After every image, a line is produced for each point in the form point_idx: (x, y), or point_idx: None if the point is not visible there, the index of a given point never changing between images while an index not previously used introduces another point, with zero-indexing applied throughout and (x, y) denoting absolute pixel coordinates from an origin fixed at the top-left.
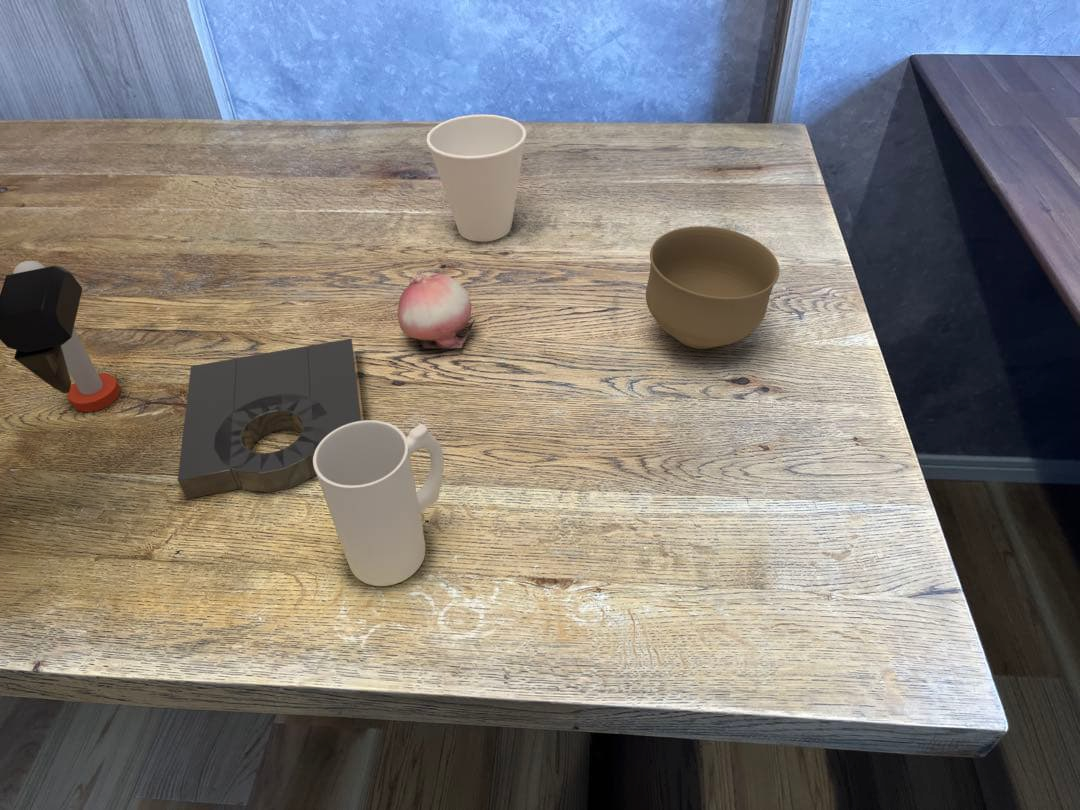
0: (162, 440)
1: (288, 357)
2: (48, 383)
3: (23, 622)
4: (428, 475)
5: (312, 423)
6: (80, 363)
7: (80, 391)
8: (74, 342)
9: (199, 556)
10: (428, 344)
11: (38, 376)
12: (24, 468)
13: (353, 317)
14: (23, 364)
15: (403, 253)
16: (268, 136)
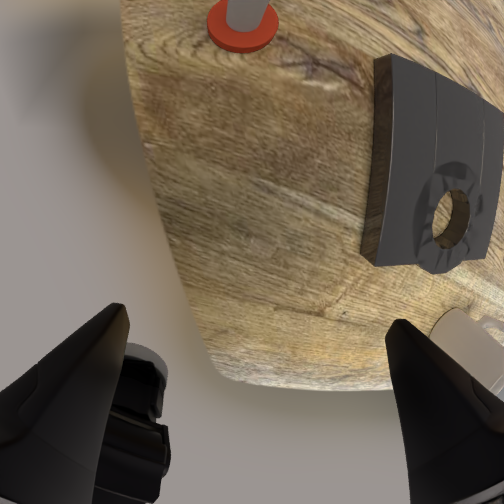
0: (339, 144)
1: (473, 106)
2: (397, 401)
3: (221, 355)
4: (495, 324)
5: (474, 221)
6: (260, 5)
7: (230, 25)
8: None
9: (358, 319)
10: None
11: (403, 438)
12: (161, 145)
13: (483, 55)
14: (411, 492)
15: (494, 9)
16: None
